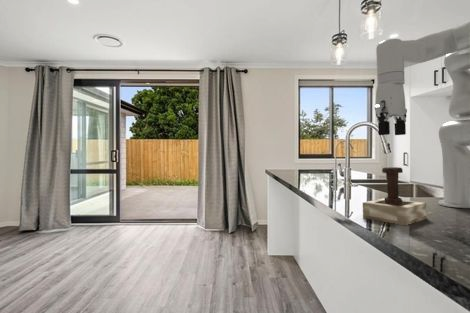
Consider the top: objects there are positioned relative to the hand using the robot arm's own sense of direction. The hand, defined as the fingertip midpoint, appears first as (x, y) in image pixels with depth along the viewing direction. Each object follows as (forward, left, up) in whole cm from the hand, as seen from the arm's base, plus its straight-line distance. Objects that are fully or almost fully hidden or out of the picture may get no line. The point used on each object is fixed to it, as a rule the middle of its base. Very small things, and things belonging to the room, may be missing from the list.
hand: (392, 134), depth 90 cm
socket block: (+1, 0, -26) cm, 26 cm away
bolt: (+1, 0, -26) cm, 26 cm away
